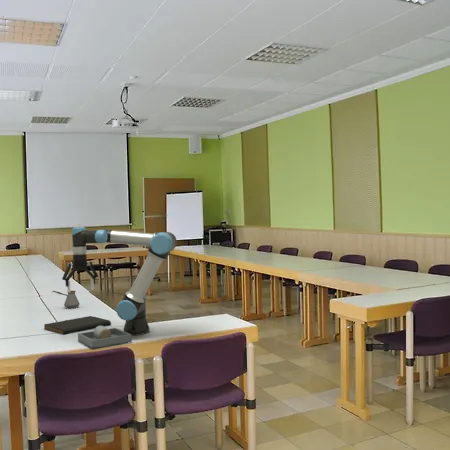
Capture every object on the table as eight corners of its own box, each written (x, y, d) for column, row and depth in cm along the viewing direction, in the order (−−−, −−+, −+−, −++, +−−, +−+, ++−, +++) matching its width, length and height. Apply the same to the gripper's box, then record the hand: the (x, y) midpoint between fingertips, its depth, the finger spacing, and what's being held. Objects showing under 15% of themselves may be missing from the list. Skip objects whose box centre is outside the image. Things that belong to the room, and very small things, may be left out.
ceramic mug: (99, 343, 279) (99, 328, 279) (93, 340, 286) (93, 326, 286) (117, 340, 286) (117, 326, 286) (111, 337, 292) (110, 323, 292)
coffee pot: (75, 305, 407) (75, 286, 407) (82, 307, 398) (81, 288, 398) (49, 309, 393) (48, 290, 393) (55, 311, 384) (54, 291, 384)
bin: (115, 335, 301) (115, 327, 301) (131, 342, 283) (131, 334, 282) (78, 341, 289) (78, 333, 288) (92, 349, 270) (91, 340, 270)
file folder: (90, 315, 346) (111, 320, 330) (90, 321, 347) (111, 326, 330) (43, 323, 323) (63, 329, 306) (43, 330, 323) (63, 336, 306)
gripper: (98, 252, 307) (99, 288, 308) (55, 255, 293) (56, 292, 294) (103, 252, 301) (104, 289, 301) (59, 255, 287) (60, 294, 287)
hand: (80, 291), depth 297 cm, fingers open, 13 cm apart
